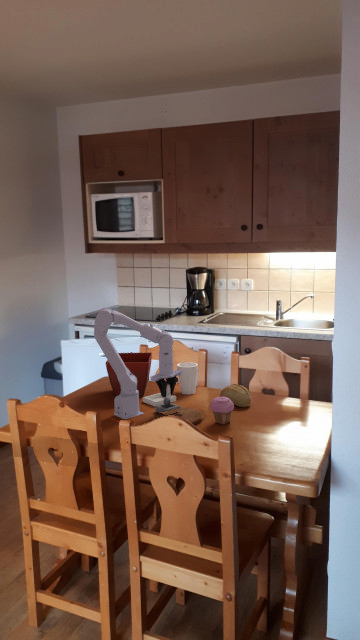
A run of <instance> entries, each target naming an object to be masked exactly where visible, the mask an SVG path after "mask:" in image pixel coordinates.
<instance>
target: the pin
mask: <svg viewBox="0 0 360 640" xmlns="http://www.w3.org/2000/svg"><path fill="white" fill-rule="evenodd" d="M163 398H164V404H171V403H172V402H171V384H170V383H167V387H166V397H163Z"/></svg>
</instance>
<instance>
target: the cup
mask: <svg viewBox="0 0 360 640" xmlns="http://www.w3.org/2000/svg"><path fill="white" fill-rule="evenodd" d="M154 407H155V409H154V410H155V413H157V412H166V411H169V410H172V409H179V408H180V409H181V405H178V404H175V403H174V402H171V404H160V405H157V406H154Z"/></svg>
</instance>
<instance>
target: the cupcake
mask: <svg viewBox="0 0 360 640" xmlns="http://www.w3.org/2000/svg"><path fill="white" fill-rule="evenodd" d="M234 408H235V405H234V404H233V402H232V401H231V400H230V399H229V398H227V397H220V396H216V397H214V398H213V399H211V402H210V410H211V411H212V414H213V415H212V416H213V418H214V421H215V423H217V424H220V425H225V424H227V423H230V422H231V420H232V413H233V411H234Z"/></svg>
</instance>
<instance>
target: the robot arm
mask: <svg viewBox="0 0 360 640" xmlns="http://www.w3.org/2000/svg"><path fill="white" fill-rule="evenodd" d="M112 323H113V326H116V325H117V326H118V325H122V326H125V327H126V328H129V329H132V330H134V331H135V332H138V333H140V337H141V338H142V339H143V338H144V339H145V340H148V341H149V342H150V343H151V342H152V343H154V344H157V345H158V346H159V348H158V373H157V374H154V375H151V376H150V382H153V383H156V385H157V387H158V389H159V393H161V396H162V397H166V387H167V383H170V384H171V396H172V395H173V396H174V391H175V387H176V385H177V382H179V376H181V375H182V371H181V370H177V369H176V370H174V351H173V350H174V347H173V345H174V338H173V336H172V334H171V332H170V333H169V332H168V331H165V330H164V329H160V328H157V327H156V326H154V324H153V323H144V324H143V323H141V322H138V321H136V320H135V319H133V318H131V317H129V316H127V315H125V314H124V313H122V312H120V311H117V310H115V309H113V310H112V308H110V307H103V308H101V309H100V310H99V312H98V313H97V315H96V316H95V319H94V326H93V327H94V328H93V337H94V339H95V341H96V343H97V344H98V346H99V347H100V349H101V351H102V352H103V355H104V356H105V358H106V361H107V360H108V361H109V363H110V365H111V366H112V368H113V370H114V371H115V373H116V375H117V378H118V381H119V383H120V385H121V392H120V393H121V394H120V395H118V396H115V398H114V400H113V401H114V402H113V403H114V413H113V415H114V416H116V417H118V418H120V419H123V420H128V419H130V418H134V417H138V416H140V415H144V412H142V411H140V397H139V391H138V390H137V378H136V376H134V375H133V374H132V373H131V372H130V371H129V369H128V368H127V367H126V366H125V364H124V362H123V361H122V359H121V357H120V355H119V354H118V353H119V352H118V350H117V349H116V347H115V345H114V343H113V342H112V341H111V338H110V337H109V335H108V331H109V328H110V327H111V325H112Z"/></svg>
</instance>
